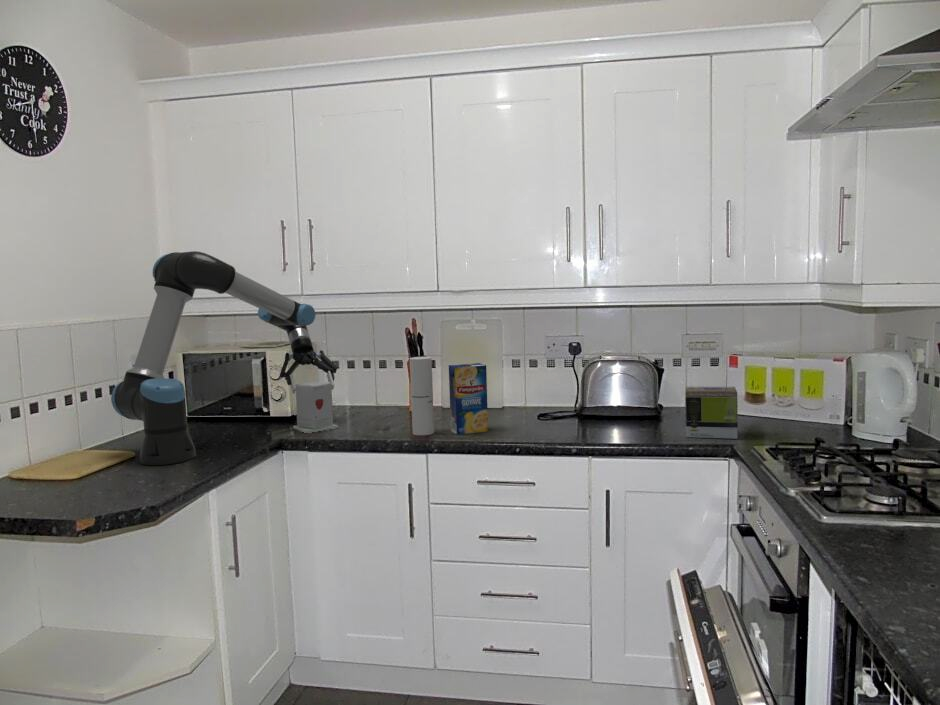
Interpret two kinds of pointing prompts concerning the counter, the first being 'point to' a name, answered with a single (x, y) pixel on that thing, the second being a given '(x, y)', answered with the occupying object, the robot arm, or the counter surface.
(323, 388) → the supplement box
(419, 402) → the cylindrical container
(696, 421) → the tea box
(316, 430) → the pad
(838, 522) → the counter surface
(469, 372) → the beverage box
